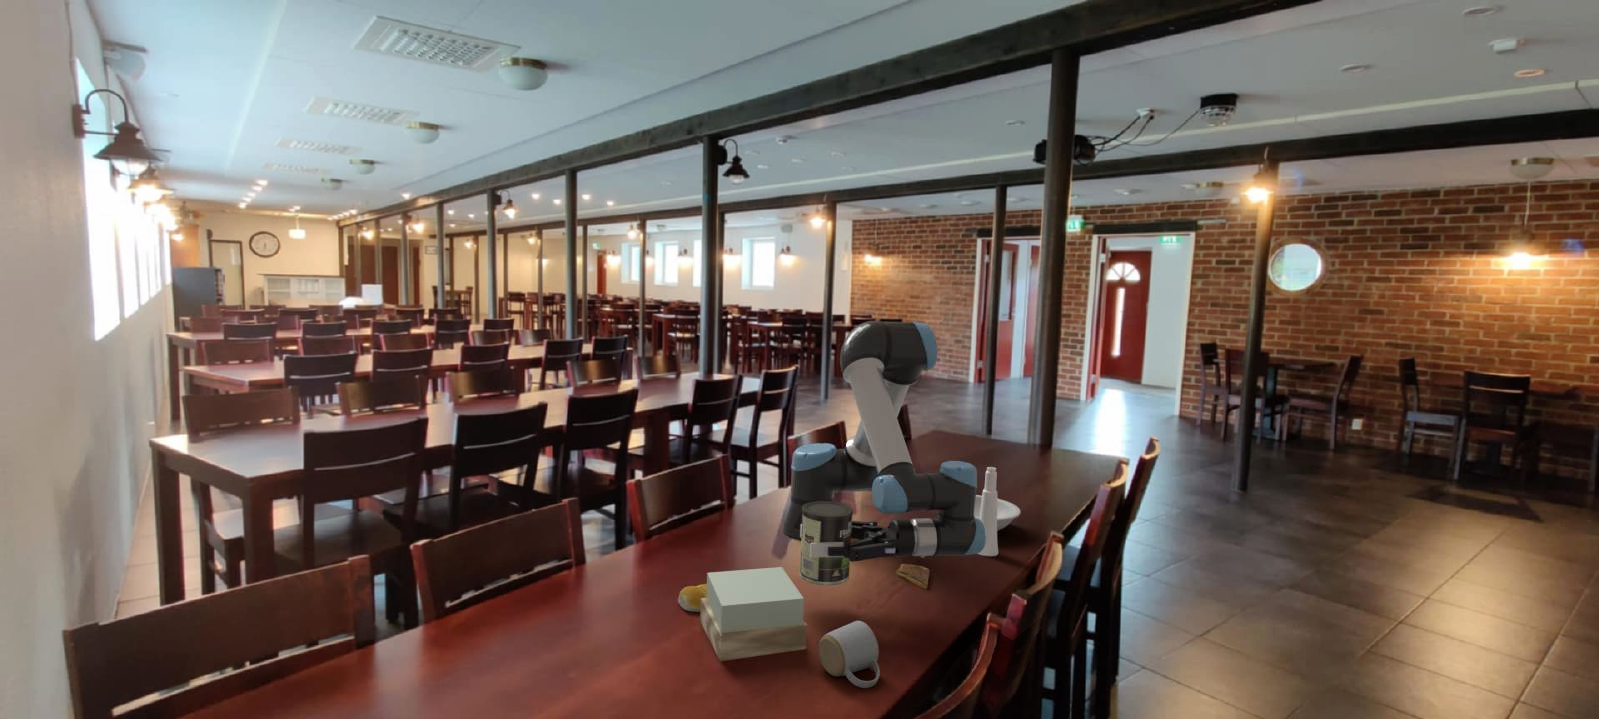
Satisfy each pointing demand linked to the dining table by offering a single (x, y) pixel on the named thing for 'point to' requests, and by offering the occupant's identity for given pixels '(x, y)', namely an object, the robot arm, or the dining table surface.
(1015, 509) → the soup bowl
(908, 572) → the brown sandwich half
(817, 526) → the coffee can
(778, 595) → the sage block
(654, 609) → the dining table surface
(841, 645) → the ceramic mug
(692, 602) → the bread roll
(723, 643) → the birch block
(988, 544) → the cosmetic bottle
